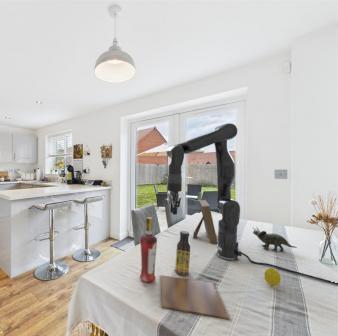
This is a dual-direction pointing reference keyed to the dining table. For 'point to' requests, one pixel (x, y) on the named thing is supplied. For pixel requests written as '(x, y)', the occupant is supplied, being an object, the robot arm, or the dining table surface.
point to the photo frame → (206, 222)
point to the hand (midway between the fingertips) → (173, 213)
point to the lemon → (272, 276)
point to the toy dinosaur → (271, 240)
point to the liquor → (148, 253)
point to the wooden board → (192, 297)
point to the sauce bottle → (183, 254)
